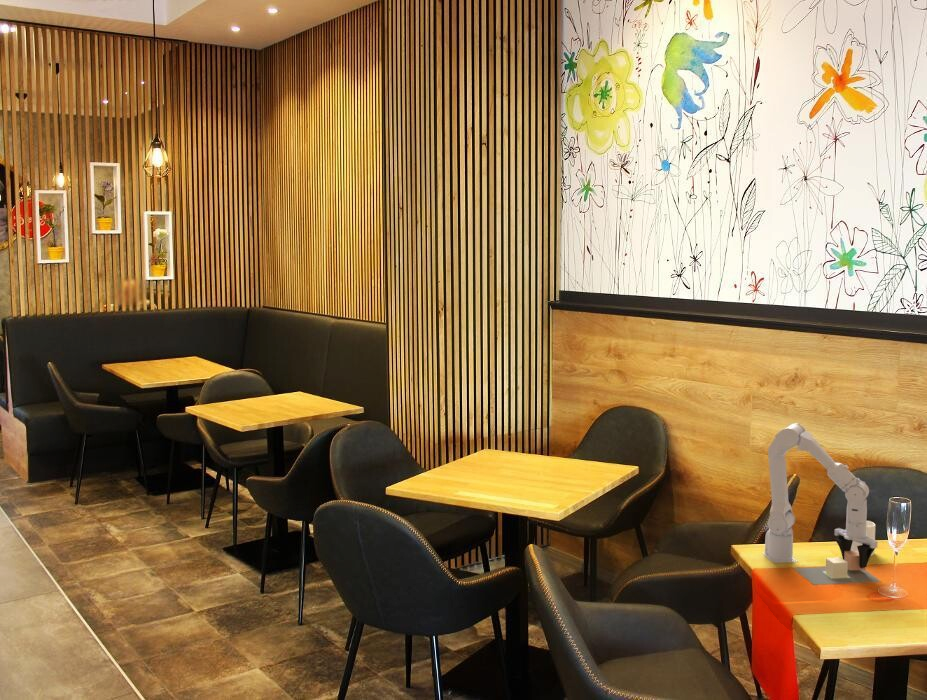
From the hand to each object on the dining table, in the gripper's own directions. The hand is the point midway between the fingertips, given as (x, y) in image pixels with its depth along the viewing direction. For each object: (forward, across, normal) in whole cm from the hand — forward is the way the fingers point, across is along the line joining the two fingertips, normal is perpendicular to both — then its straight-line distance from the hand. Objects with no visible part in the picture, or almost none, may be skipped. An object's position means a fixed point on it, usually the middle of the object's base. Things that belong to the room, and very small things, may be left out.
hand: (854, 564), depth 286 cm
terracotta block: (+1, 0, 0) cm, 1 cm away
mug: (+3, -10, +14) cm, 17 cm away
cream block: (+2, 0, -7) cm, 8 cm away
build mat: (+3, 0, -7) cm, 8 cm away
